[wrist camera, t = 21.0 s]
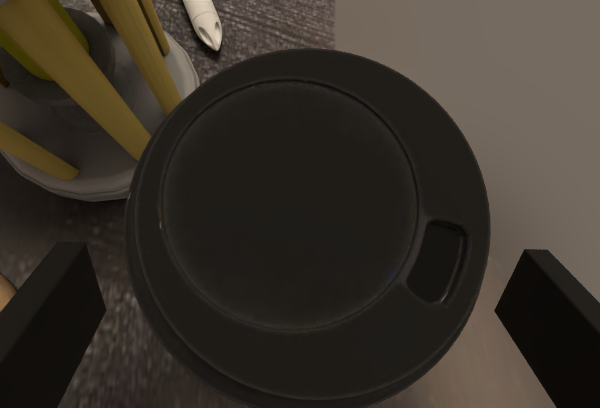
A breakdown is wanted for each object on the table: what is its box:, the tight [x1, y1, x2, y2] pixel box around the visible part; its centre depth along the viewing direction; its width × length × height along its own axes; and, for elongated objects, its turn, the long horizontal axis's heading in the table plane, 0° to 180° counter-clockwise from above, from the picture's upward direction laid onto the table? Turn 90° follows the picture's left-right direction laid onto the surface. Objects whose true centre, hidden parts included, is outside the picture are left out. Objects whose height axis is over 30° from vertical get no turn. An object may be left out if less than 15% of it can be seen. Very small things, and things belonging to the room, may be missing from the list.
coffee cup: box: [124, 48, 490, 408], centre depth 15 cm, size 9×9×15 cm
